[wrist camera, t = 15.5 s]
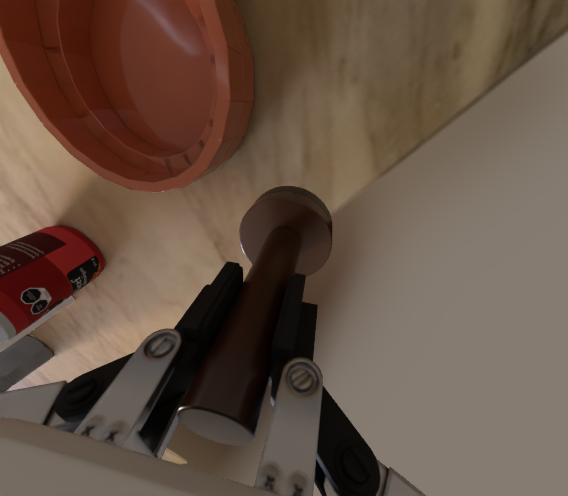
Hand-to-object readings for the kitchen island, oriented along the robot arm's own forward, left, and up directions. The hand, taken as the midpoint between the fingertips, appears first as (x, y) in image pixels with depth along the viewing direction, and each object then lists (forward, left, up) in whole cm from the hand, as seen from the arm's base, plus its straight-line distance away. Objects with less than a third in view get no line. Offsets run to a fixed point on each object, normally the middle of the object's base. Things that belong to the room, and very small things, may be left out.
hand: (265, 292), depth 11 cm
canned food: (-28, -10, -11) cm, 32 cm away
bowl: (-11, +9, -11) cm, 18 cm away
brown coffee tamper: (0, 0, -7) cm, 7 cm away
